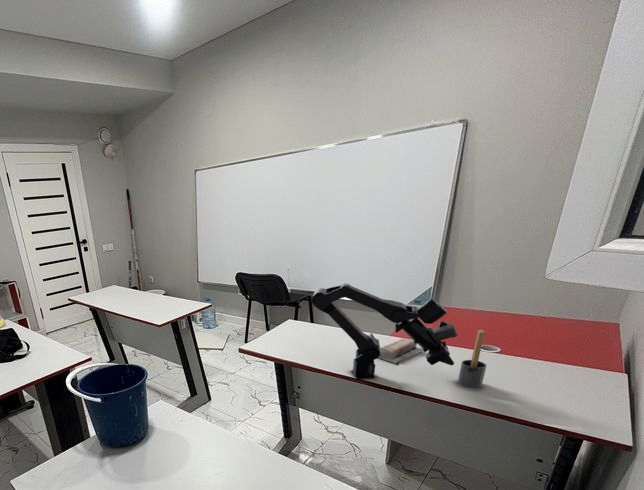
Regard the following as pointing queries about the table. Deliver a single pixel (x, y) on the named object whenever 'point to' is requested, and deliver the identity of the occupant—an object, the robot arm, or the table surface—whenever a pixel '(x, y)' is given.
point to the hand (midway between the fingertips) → (453, 364)
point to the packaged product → (399, 350)
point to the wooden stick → (477, 348)
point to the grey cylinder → (471, 374)
